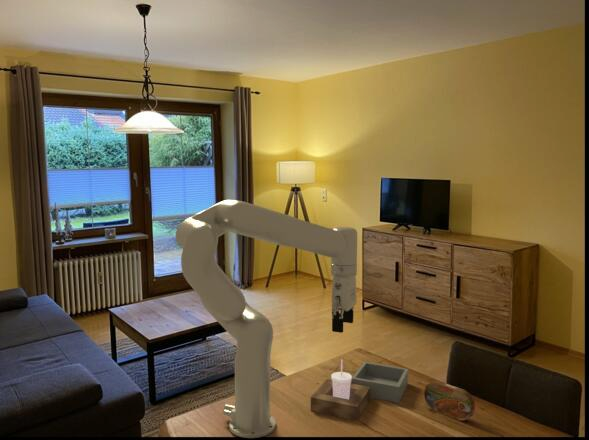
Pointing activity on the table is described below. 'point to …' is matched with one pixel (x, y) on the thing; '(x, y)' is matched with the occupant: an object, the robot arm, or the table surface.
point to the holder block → (340, 401)
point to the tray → (382, 380)
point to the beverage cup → (341, 383)
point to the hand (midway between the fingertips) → (342, 327)
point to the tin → (449, 400)
